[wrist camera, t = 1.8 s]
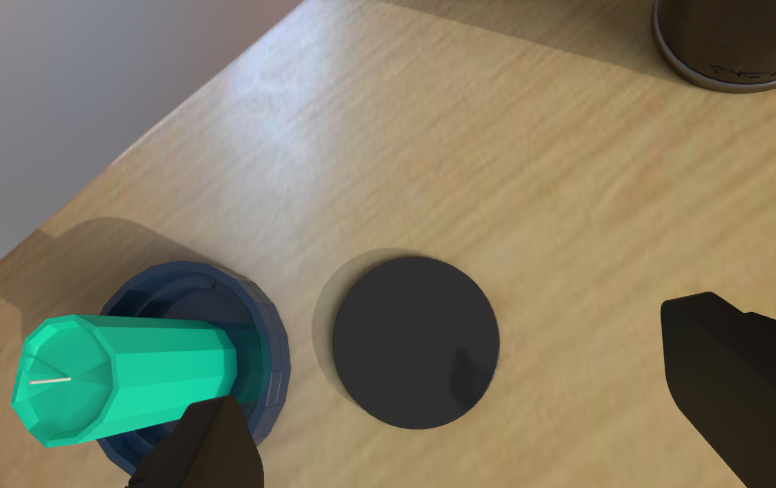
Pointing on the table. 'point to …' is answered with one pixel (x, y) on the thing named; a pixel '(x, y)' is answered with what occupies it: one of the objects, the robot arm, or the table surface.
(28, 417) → the candle
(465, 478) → the table surface
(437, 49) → the table surface
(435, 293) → the coaster
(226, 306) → the dish
